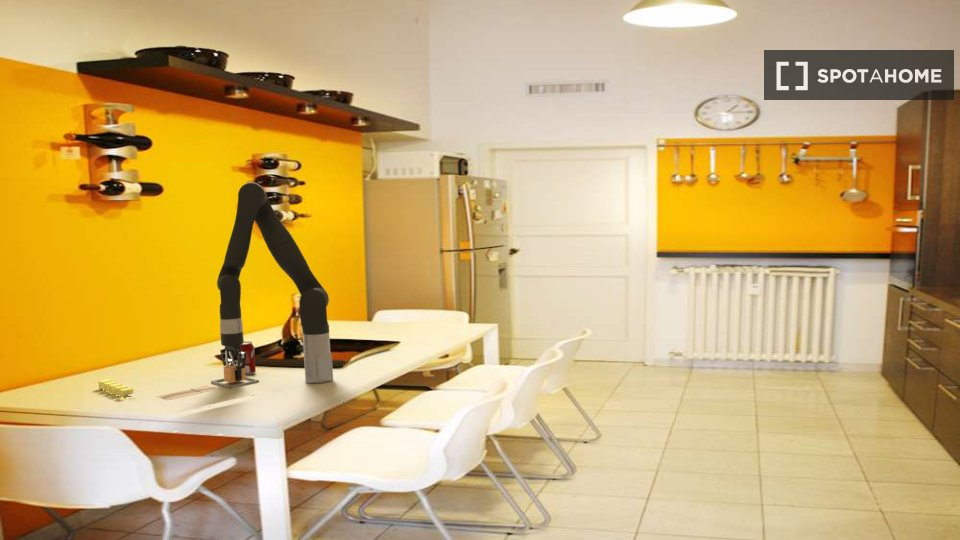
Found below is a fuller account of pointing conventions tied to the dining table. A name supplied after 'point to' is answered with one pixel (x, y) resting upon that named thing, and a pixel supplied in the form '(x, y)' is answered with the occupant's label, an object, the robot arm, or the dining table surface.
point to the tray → (236, 384)
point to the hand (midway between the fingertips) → (234, 379)
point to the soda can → (249, 357)
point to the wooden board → (187, 392)
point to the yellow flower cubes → (115, 388)
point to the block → (232, 374)
